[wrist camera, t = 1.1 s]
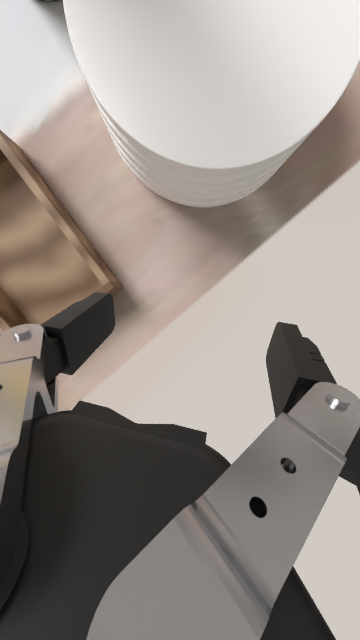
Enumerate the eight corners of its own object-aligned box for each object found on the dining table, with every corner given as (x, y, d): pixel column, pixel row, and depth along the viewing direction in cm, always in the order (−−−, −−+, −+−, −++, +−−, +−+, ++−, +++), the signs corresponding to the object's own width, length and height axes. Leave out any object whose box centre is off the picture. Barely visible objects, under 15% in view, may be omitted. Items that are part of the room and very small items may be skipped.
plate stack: (264, 230, 34) (309, 205, 23) (84, 175, 32) (35, 116, 21) (333, 19, 30) (431, -143, 18) (130, -59, 28) (99, -292, 17)
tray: (-65, 214, 32) (-108, 202, 27) (18, 146, 31) (-12, 120, 26) (44, 343, 36) (23, 353, 31) (122, 286, 35) (113, 287, 30)
